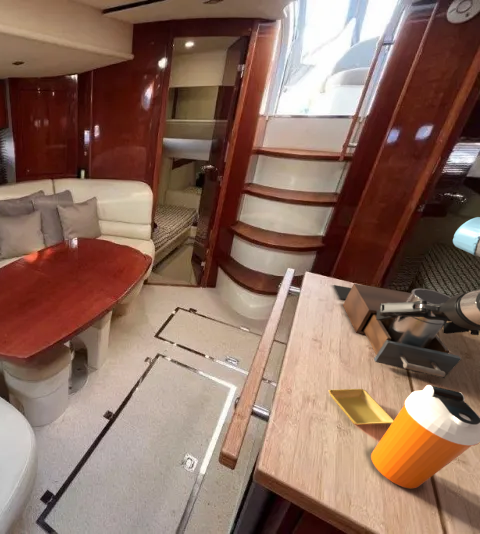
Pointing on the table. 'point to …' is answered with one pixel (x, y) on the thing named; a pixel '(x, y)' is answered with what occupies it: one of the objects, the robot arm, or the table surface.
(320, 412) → the table surface
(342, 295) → the coaster
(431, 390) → the shaker bottle
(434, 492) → the table surface
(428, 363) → the drawer
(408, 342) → the metal cup
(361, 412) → the yellow square tray
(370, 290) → the cabinet
